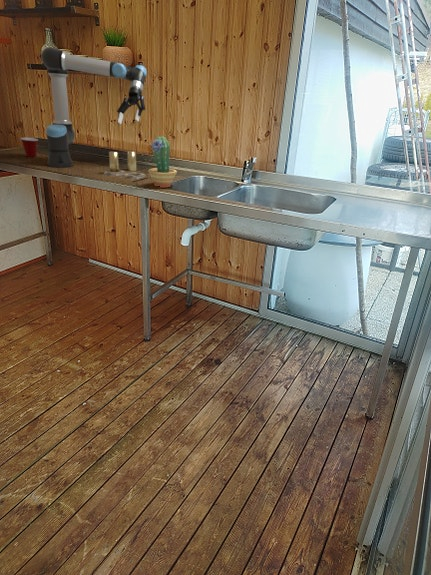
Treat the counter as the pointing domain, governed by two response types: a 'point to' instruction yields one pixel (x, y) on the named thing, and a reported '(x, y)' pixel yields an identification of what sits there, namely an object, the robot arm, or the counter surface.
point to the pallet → (125, 175)
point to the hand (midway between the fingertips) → (127, 121)
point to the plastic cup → (30, 146)
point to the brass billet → (131, 160)
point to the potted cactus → (162, 163)
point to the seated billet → (113, 162)
